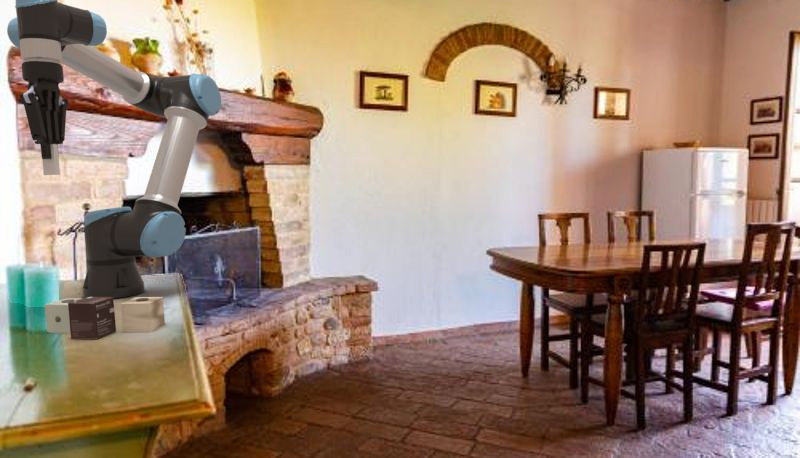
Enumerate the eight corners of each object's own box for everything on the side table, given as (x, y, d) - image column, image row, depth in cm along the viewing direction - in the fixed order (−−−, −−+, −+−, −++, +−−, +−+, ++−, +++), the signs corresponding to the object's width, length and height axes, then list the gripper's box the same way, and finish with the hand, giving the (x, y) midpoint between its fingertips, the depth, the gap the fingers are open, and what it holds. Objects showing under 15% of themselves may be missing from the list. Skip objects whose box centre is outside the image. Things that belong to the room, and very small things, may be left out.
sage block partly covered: (69, 325, 130) (66, 297, 130) (92, 326, 129) (90, 297, 128) (46, 333, 124) (43, 303, 124) (71, 334, 123) (68, 304, 122)
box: (96, 340, 118) (93, 303, 117) (69, 339, 119) (66, 302, 118) (117, 331, 124) (114, 296, 123) (91, 331, 125) (88, 296, 124)
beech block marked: (137, 324, 129) (135, 296, 128) (164, 324, 128) (162, 296, 128) (123, 332, 123) (120, 302, 122) (151, 332, 123) (149, 302, 122)
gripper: (44, 68, 134) (54, 175, 136) (3, 58, 121) (14, 175, 123) (77, 67, 133) (86, 174, 136) (39, 56, 121) (49, 174, 123)
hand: (51, 174), depth 130 cm, fingers closed
